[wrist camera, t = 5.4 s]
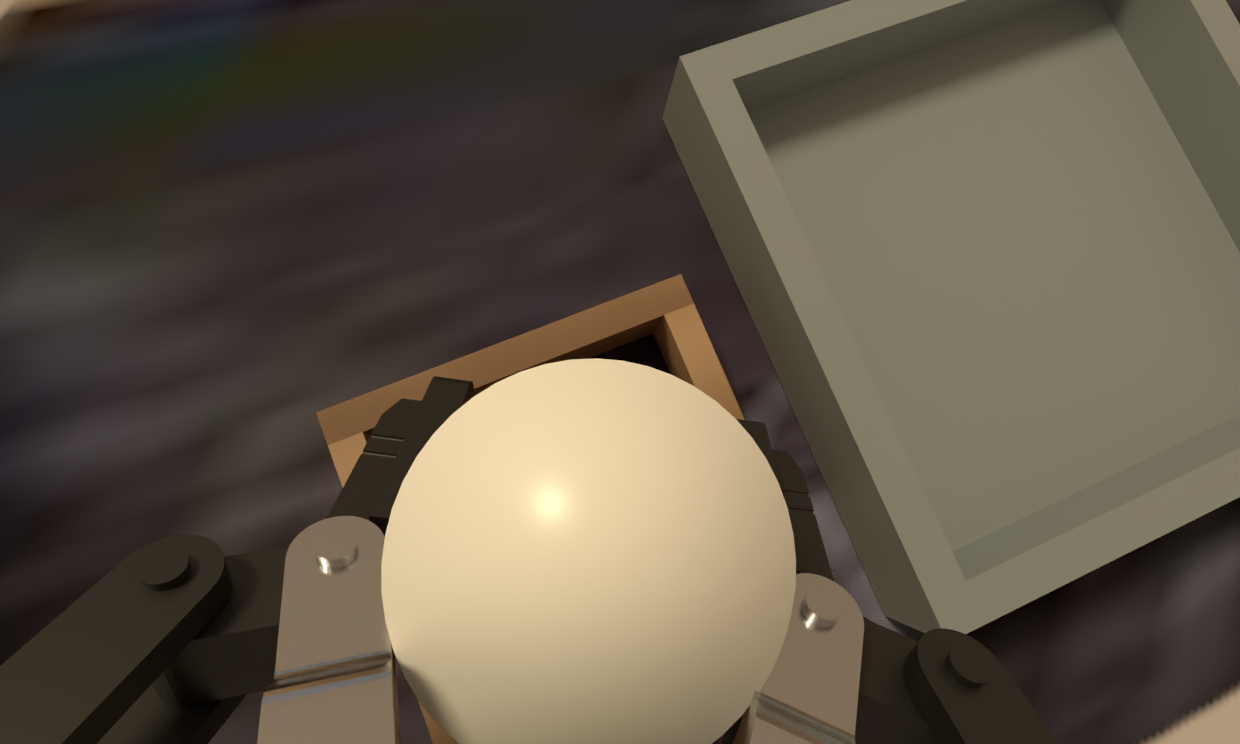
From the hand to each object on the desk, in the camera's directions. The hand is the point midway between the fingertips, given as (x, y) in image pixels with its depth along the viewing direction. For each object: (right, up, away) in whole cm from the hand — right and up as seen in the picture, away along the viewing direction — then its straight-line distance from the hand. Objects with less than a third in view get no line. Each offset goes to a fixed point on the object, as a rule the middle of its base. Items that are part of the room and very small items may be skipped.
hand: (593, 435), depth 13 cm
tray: (+12, +4, +6) cm, 14 cm away
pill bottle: (-1, -3, +4) cm, 5 cm away
